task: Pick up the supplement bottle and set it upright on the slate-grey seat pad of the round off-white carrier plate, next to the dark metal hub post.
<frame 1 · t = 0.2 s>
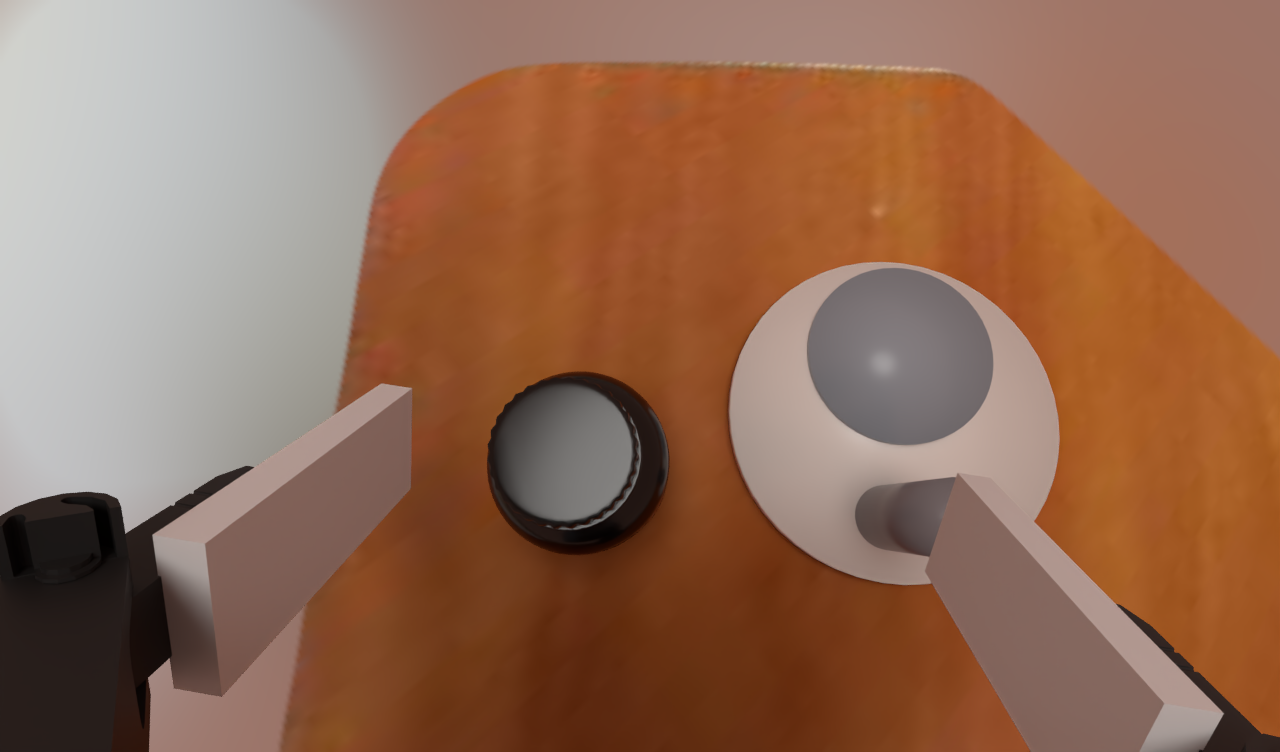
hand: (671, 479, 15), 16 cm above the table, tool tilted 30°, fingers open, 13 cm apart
carrier: (885, 417, 31), on the table
supplement bottle: (598, 474, 31), on the table
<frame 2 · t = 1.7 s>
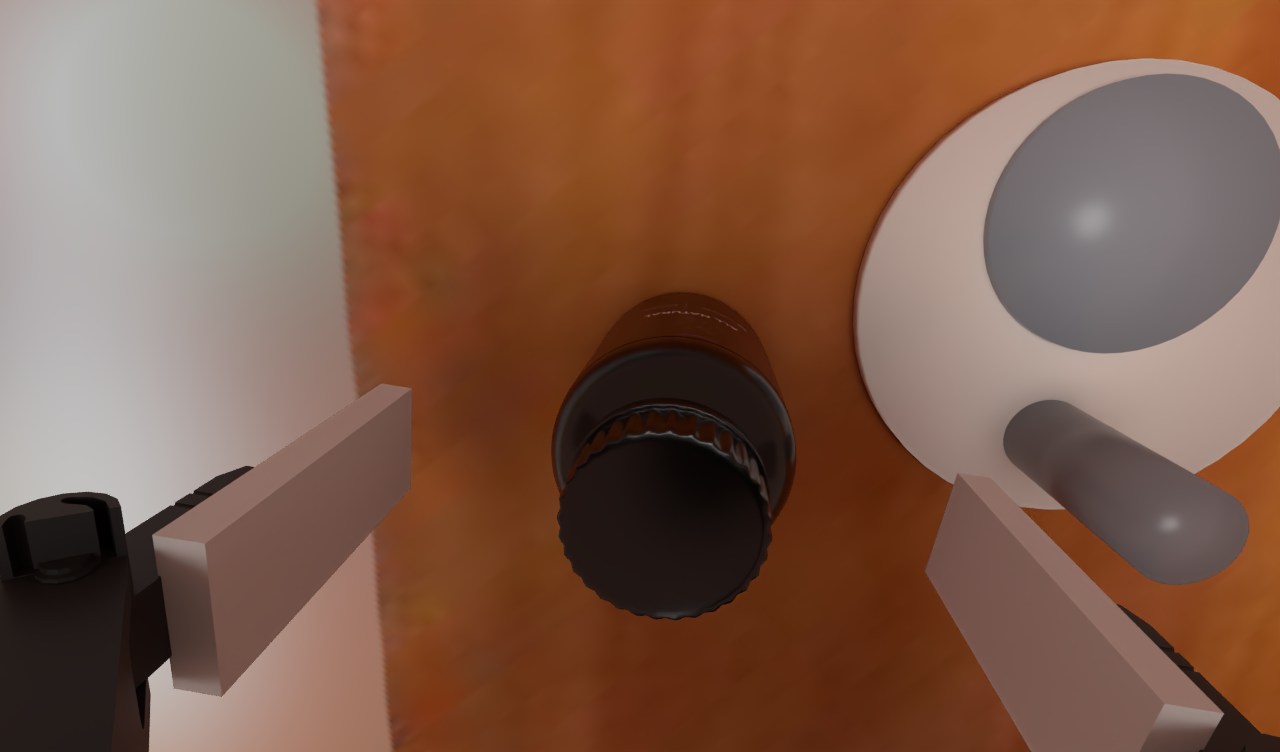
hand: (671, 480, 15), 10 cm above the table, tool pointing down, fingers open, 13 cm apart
carrier: (1074, 303, 23), on the table
supplement bottle: (679, 372, 25), on the table
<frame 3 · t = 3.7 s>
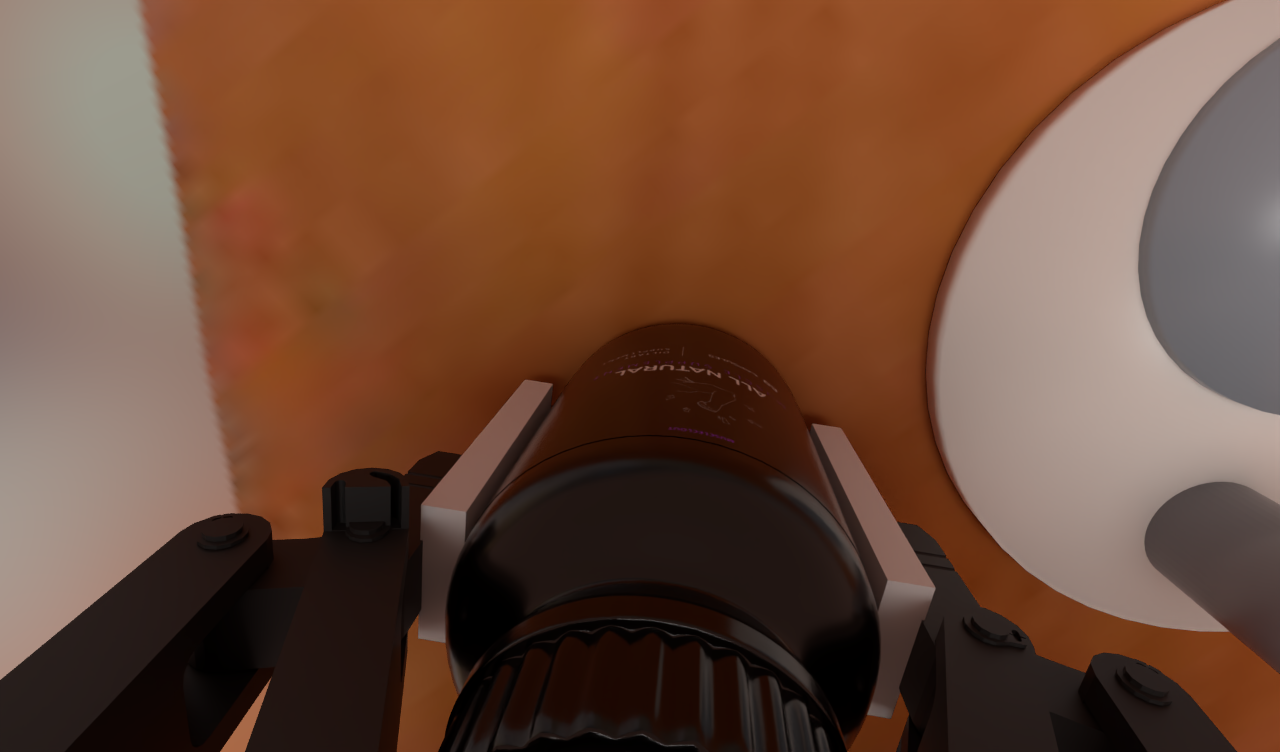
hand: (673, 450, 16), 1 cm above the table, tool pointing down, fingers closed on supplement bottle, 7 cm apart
carrier: (1260, 339, 15), on the table
supplement bottle: (674, 432, 18), on the table, touching gripper
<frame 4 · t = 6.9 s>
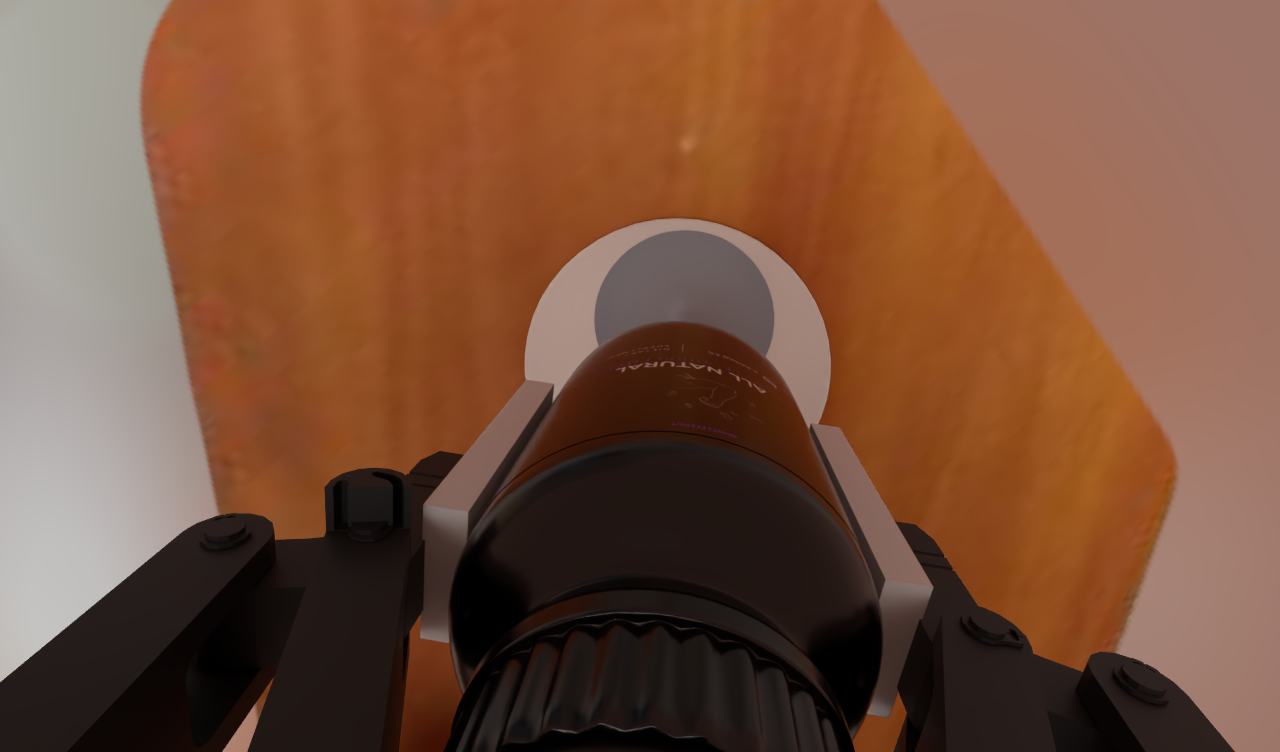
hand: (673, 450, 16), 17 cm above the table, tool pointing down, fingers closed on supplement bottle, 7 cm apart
carrier: (675, 370, 33), on the table
supplement bottle: (673, 429, 18), point 15 cm above the table, touching gripper
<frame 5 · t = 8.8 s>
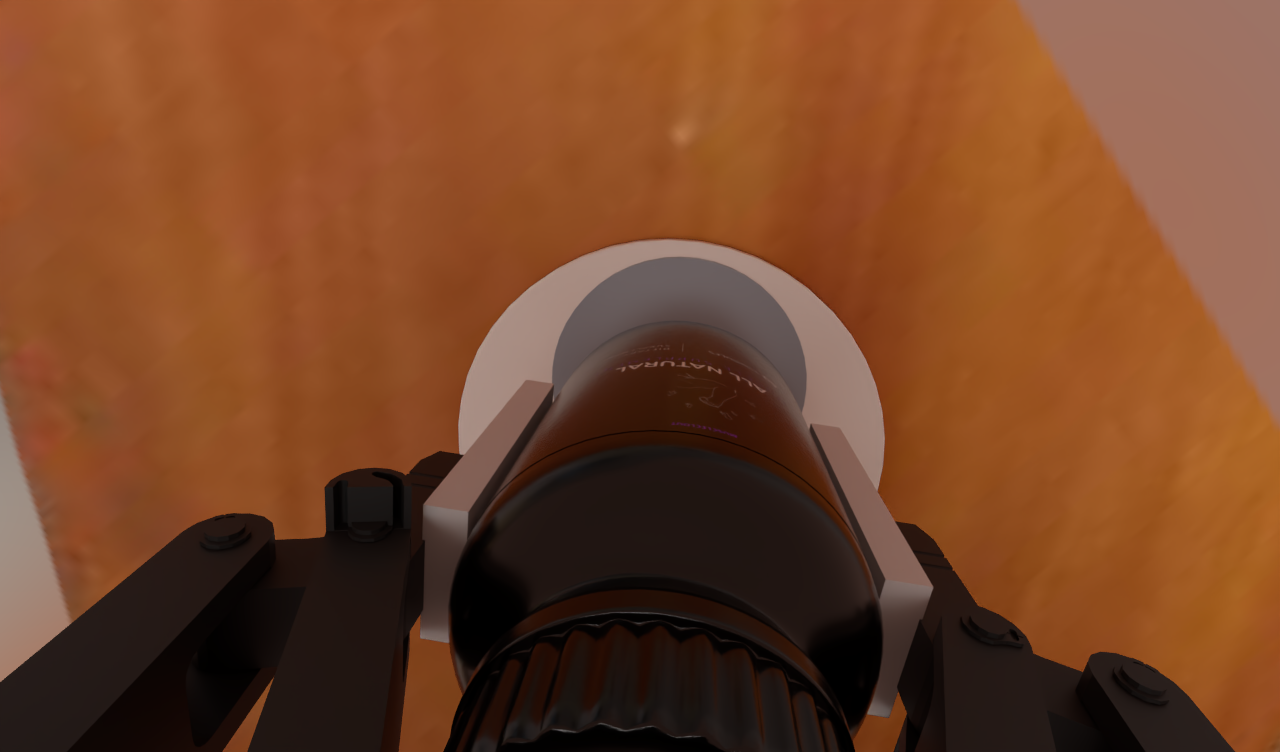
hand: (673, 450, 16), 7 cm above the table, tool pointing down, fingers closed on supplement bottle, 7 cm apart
carrier: (666, 445, 24), on the table
supplement bottle: (673, 429, 18), point 6 cm above the table, touching gripper
when the fingers open (4 cm above the table, at t = 10.4 s): supplement bottle drops 1 cm, resting on carrier.
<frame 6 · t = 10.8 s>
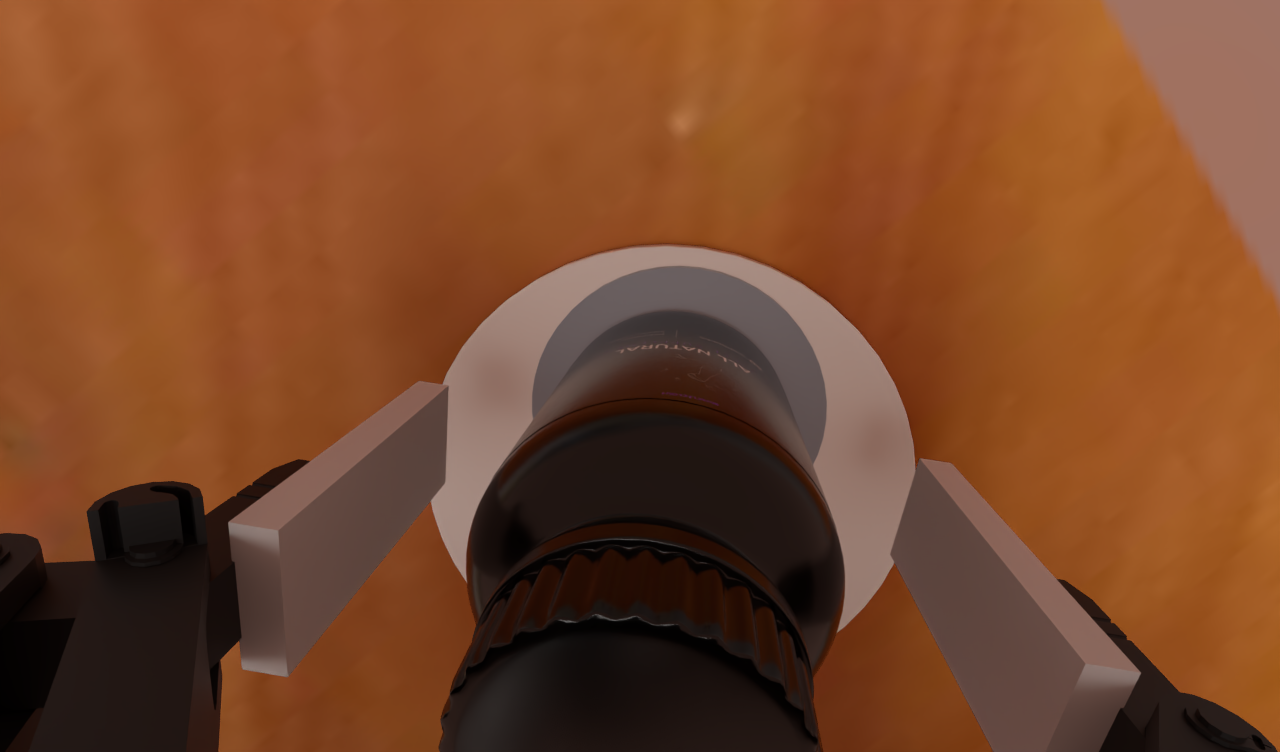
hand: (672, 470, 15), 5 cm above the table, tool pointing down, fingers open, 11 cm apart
carrier: (664, 479, 21), on the table
supplement bottle: (670, 412, 19), point 1 cm above the table, touching carrier
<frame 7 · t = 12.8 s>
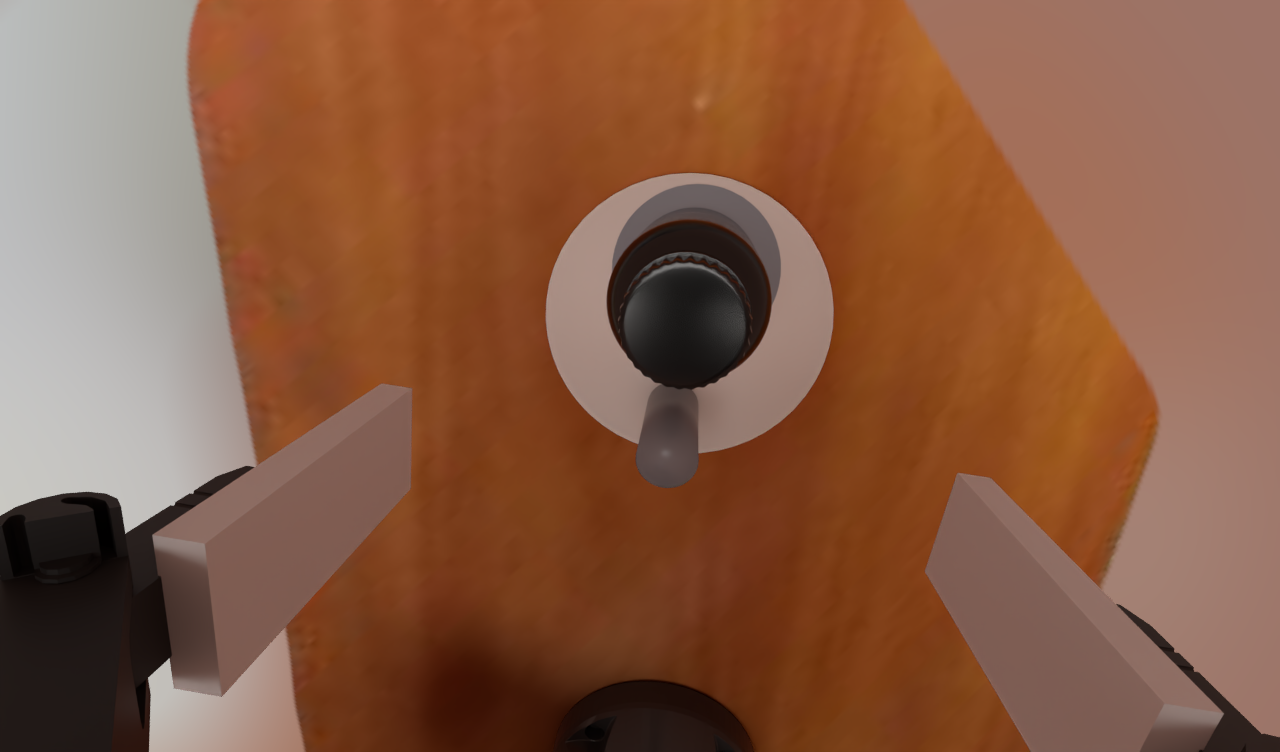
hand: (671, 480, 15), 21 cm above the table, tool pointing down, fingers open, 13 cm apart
carrier: (686, 319, 35), on the table
supplement bottle: (691, 271, 33), point 1 cm above the table, touching carrier
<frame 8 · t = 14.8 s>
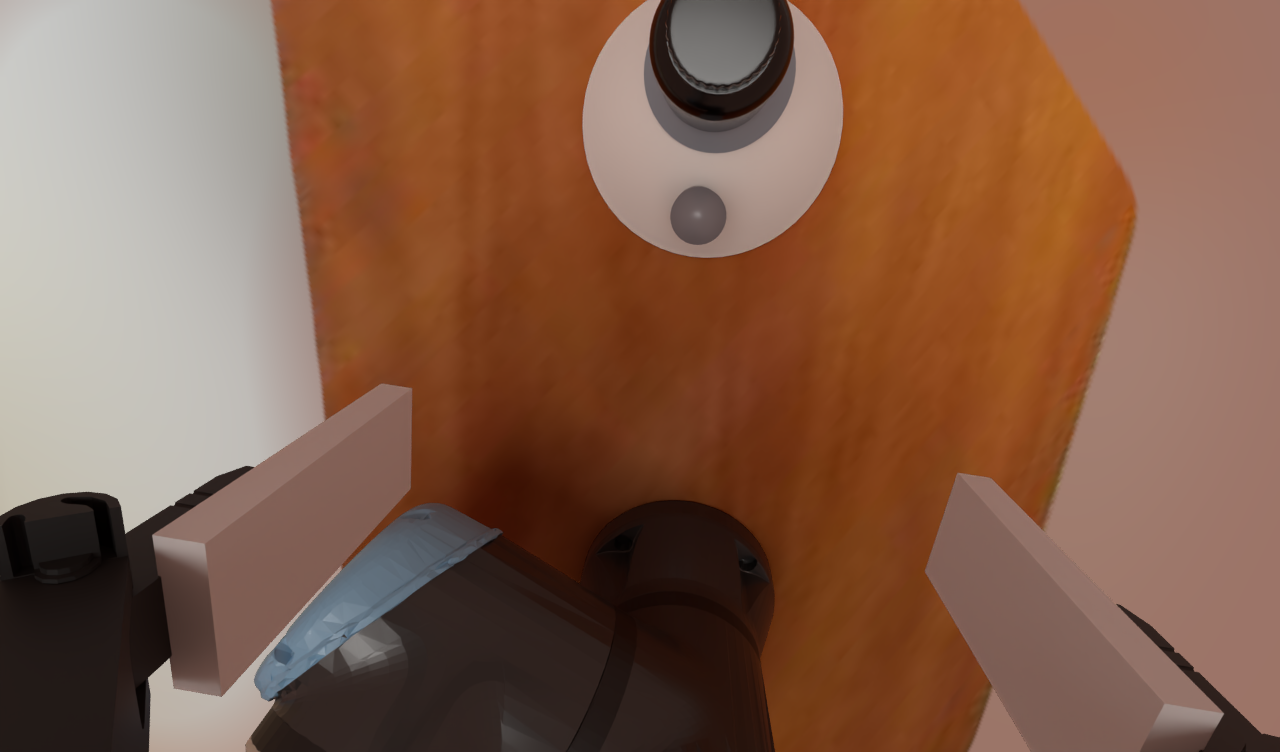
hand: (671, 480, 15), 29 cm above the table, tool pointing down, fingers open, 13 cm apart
carrier: (709, 128, 39), on the table
supplement bottle: (715, 72, 37), point 1 cm above the table, touching carrier
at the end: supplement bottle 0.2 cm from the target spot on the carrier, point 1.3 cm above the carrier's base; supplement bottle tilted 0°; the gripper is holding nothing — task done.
